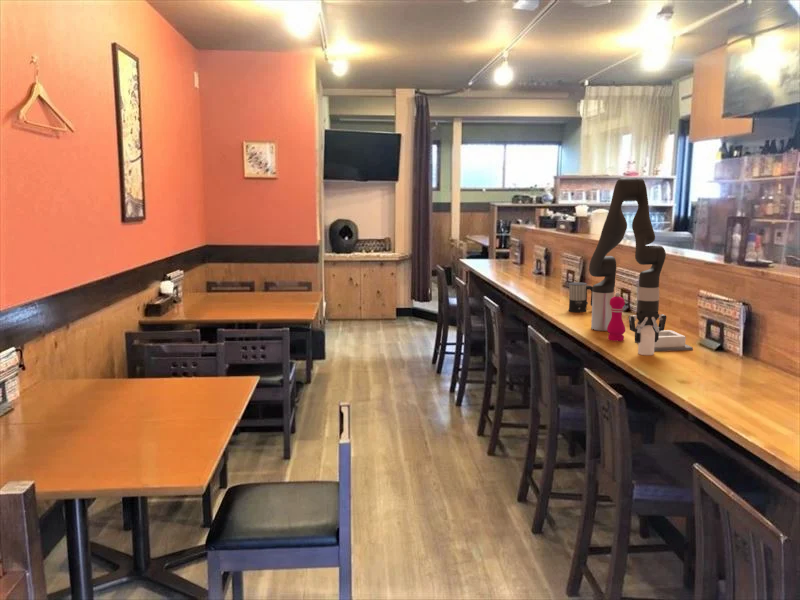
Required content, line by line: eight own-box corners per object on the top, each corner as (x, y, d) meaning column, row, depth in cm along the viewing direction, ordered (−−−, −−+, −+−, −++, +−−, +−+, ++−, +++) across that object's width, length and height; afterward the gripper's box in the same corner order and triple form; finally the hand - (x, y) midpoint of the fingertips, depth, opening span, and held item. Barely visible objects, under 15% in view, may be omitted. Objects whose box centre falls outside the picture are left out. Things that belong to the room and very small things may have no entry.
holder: (634, 341, 255) (635, 330, 254) (672, 340, 256) (673, 328, 255) (652, 351, 239) (653, 338, 239) (692, 349, 240) (693, 337, 239)
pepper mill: (622, 337, 263) (624, 291, 260) (626, 341, 256) (628, 294, 253) (605, 337, 264) (606, 291, 260) (609, 341, 257) (610, 294, 253)
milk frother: (573, 313, 320) (574, 284, 318) (559, 308, 335) (559, 281, 333) (598, 311, 323) (599, 283, 321) (582, 306, 339) (583, 279, 336)
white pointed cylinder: (642, 324, 231) (636, 321, 237) (641, 355, 233) (635, 351, 239) (658, 324, 232) (651, 321, 237) (656, 355, 234) (650, 351, 239)
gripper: (662, 296, 237) (660, 339, 240) (625, 297, 236) (623, 340, 239) (671, 299, 229) (669, 343, 232) (633, 300, 229) (631, 344, 232)
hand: (646, 341), depth 236 cm, fingers closed on white pointed cylinder, 6 cm apart
